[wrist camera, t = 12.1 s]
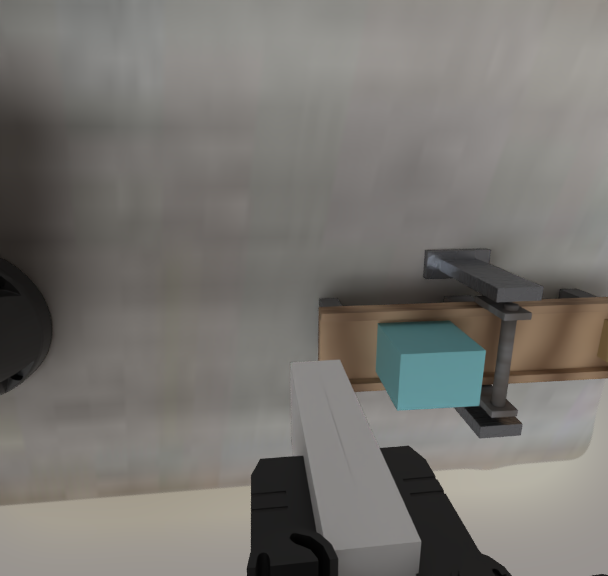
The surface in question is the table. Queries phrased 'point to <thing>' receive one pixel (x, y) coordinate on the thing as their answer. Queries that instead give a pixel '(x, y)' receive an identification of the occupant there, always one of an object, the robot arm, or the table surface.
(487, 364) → the beam
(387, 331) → the block
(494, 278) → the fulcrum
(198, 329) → the table surface
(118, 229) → the table surface
